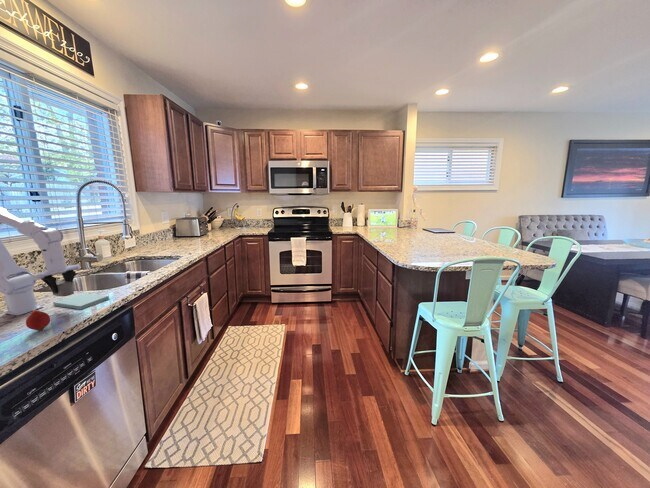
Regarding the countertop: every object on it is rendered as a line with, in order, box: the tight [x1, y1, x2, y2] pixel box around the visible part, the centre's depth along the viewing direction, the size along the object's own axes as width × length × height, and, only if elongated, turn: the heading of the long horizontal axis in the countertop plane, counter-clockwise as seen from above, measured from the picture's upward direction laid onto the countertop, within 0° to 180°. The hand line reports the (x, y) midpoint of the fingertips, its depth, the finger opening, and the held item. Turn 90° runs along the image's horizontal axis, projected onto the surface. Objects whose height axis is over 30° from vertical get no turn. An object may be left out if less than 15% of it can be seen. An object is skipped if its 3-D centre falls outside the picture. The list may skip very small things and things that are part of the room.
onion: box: [25, 309, 51, 332], centre depth 92 cm, size 6×6×8 cm
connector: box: [48, 280, 75, 298], centre depth 108 cm, size 11×4×5 cm, turn 71°
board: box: [52, 292, 110, 310], centre depth 117 cm, size 18×11×2 cm, turn 72°
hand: (62, 290), depth 108 cm, fingers closed on connector, 4 cm apart
